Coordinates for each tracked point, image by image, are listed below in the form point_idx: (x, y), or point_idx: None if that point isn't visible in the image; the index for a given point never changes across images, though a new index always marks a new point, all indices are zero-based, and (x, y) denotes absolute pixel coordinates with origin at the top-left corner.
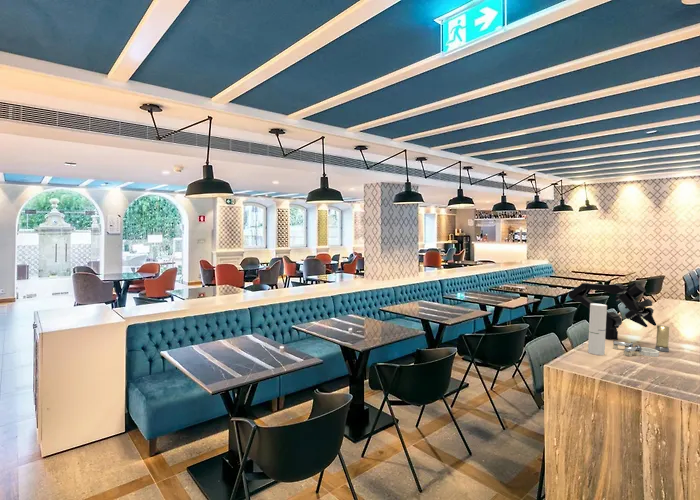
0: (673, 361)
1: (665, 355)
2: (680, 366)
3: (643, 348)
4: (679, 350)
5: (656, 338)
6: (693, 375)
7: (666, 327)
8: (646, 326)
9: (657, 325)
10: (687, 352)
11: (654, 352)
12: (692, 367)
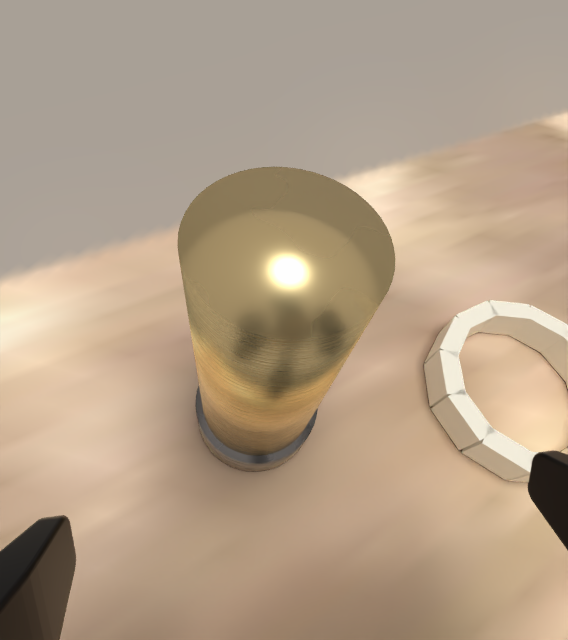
0: (466, 228)
1: (385, 314)
2: (510, 178)
3: (507, 441)
4: (55, 360)
5: (305, 417)
6: (563, 116)
7: (330, 179)
8: (555, 469)
9: (331, 329)
10: (72, 299)
11: (530, 310)
12: (456, 152)
